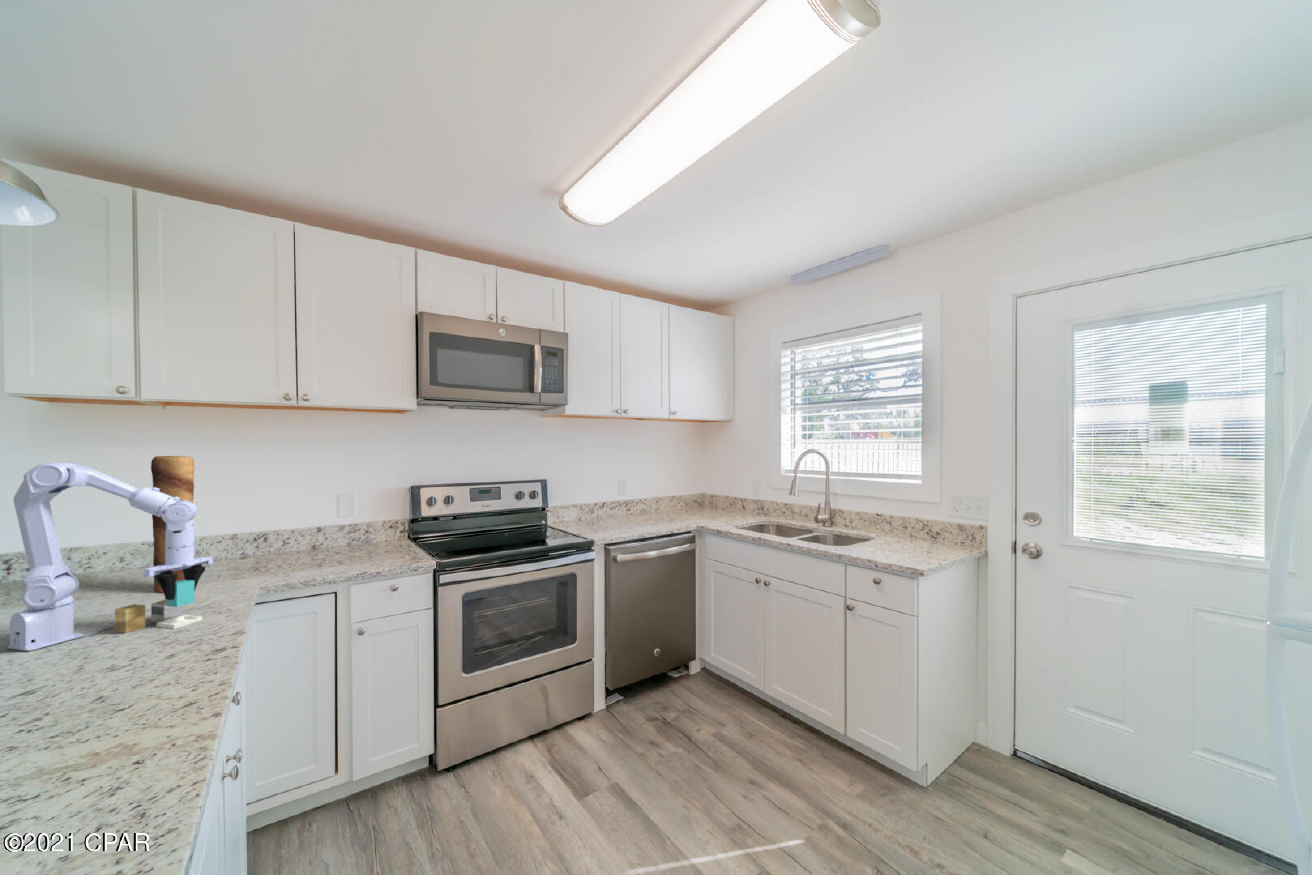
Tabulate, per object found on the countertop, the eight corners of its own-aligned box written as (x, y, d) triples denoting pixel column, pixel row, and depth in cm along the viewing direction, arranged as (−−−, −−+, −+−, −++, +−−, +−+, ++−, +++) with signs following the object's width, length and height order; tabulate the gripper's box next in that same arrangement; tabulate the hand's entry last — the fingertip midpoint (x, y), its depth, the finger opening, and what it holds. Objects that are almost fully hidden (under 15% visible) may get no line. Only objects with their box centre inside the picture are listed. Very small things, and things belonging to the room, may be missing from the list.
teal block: (176, 607, 131) (176, 584, 131) (166, 606, 132) (166, 583, 132) (194, 602, 134) (194, 580, 135) (183, 601, 136) (183, 579, 136)
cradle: (174, 628, 129) (174, 624, 129) (156, 626, 131) (156, 622, 131) (201, 620, 135) (201, 616, 135) (184, 618, 137) (184, 614, 137)
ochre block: (125, 633, 126) (125, 610, 126) (114, 632, 127) (114, 609, 127) (145, 628, 130) (145, 605, 130) (134, 626, 131) (134, 604, 131)
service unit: (163, 623, 133) (163, 604, 133) (150, 621, 134) (150, 603, 134) (183, 617, 137) (183, 599, 138) (170, 616, 139) (170, 598, 139)
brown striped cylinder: (150, 589, 166) (151, 456, 167) (193, 583, 174) (194, 455, 174) (149, 595, 159) (150, 456, 160) (194, 588, 166) (195, 455, 167)
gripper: (157, 552, 125) (157, 606, 125) (220, 541, 139) (220, 589, 139) (138, 551, 127) (138, 604, 127) (202, 540, 141) (202, 588, 141)
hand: (180, 596), depth 133 cm, fingers closed on teal block, 4 cm apart
